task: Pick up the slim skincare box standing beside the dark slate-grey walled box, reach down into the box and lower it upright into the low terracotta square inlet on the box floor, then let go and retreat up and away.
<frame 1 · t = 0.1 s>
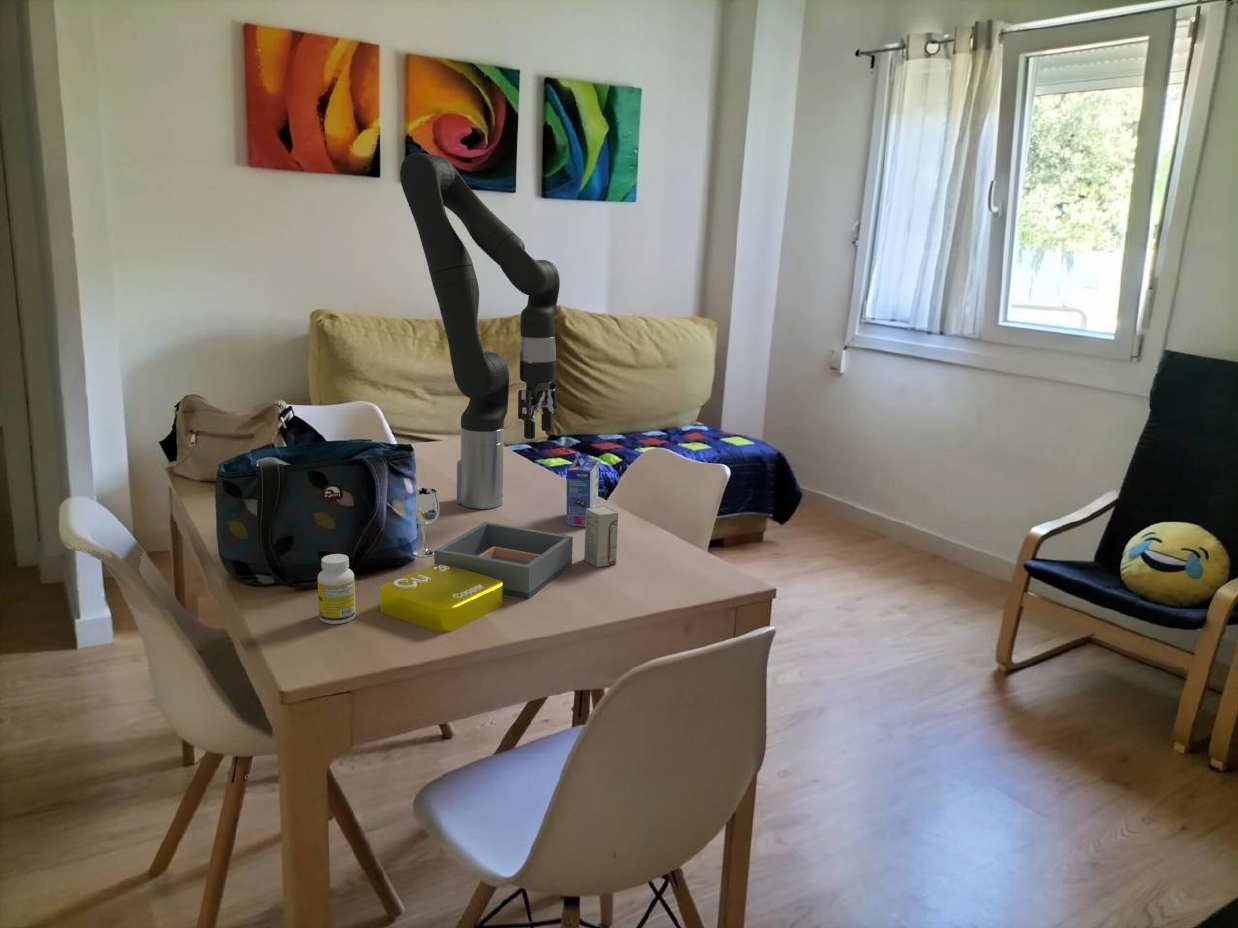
hand: (538, 434, 196), 17 cm above the table, tool pointing down, fingers open, 8 cm apart
supplement bottle: (337, 619, 143), on the table
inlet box: (505, 572, 165), on the table
ink cartridge box: (581, 520, 197), on the table
skincare box: (599, 562, 172), on the table
wineglass: (424, 553, 173), on the table
element tile: (442, 610, 149), on the table
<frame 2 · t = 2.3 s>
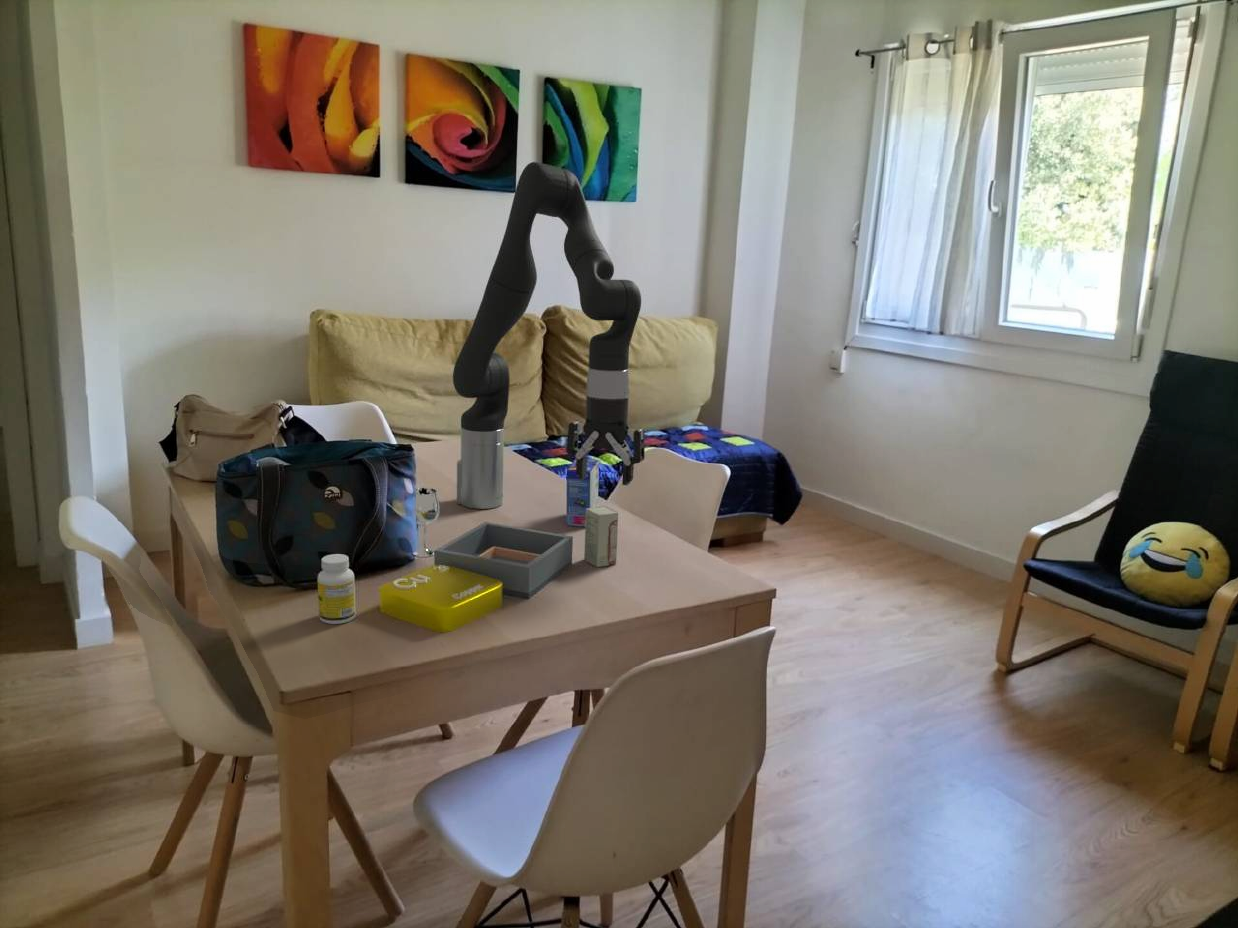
hand: (604, 481, 169), 16 cm above the table, tool pointing down, fingers open, 8 cm apart
nothing on the table moved.
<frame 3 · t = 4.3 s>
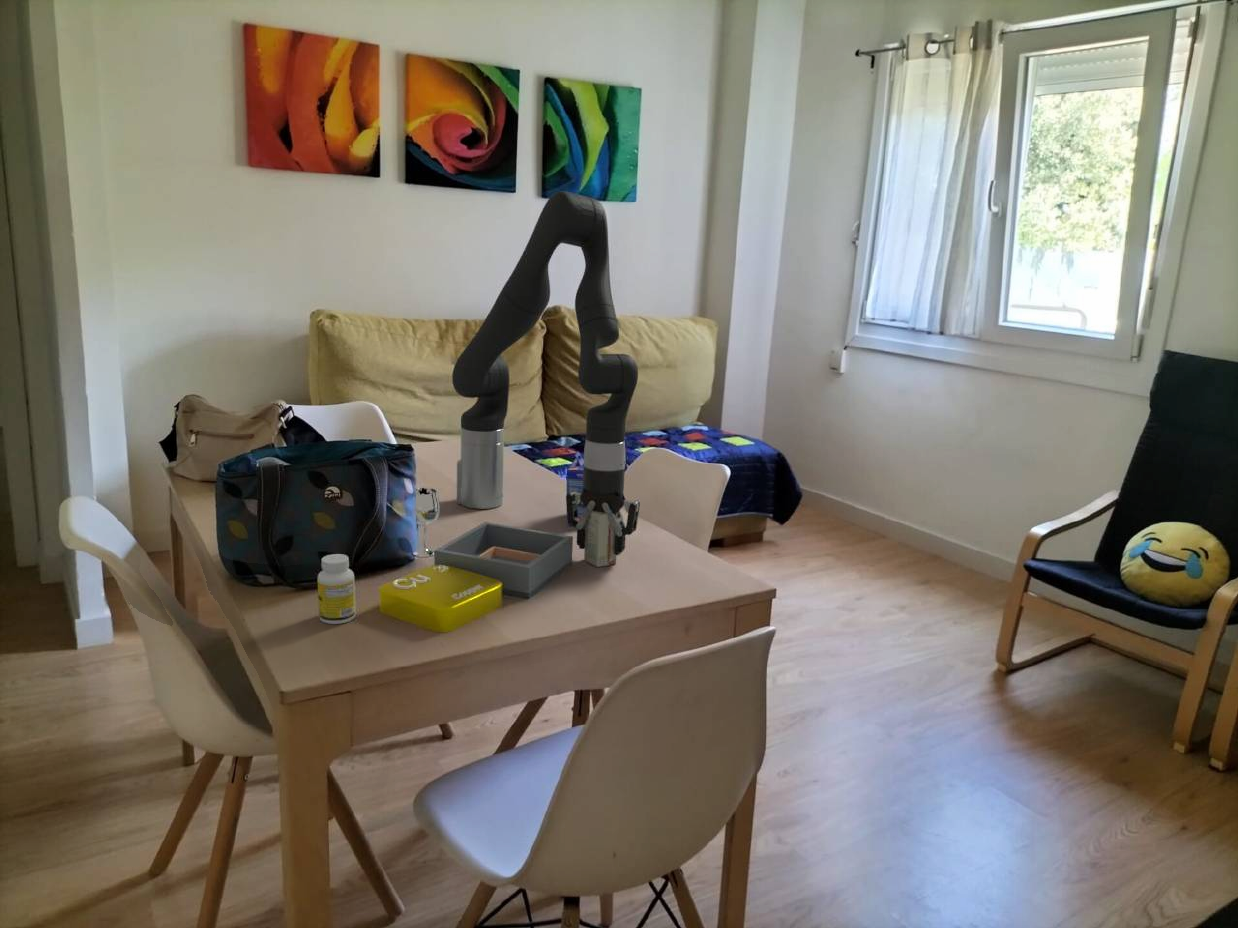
hand: (600, 550, 172), 2 cm above the table, tool pointing down, fingers closed on skincare box, 6 cm apart
skincare box: (599, 562, 172), on the table, touching gripper
everything else where it was.
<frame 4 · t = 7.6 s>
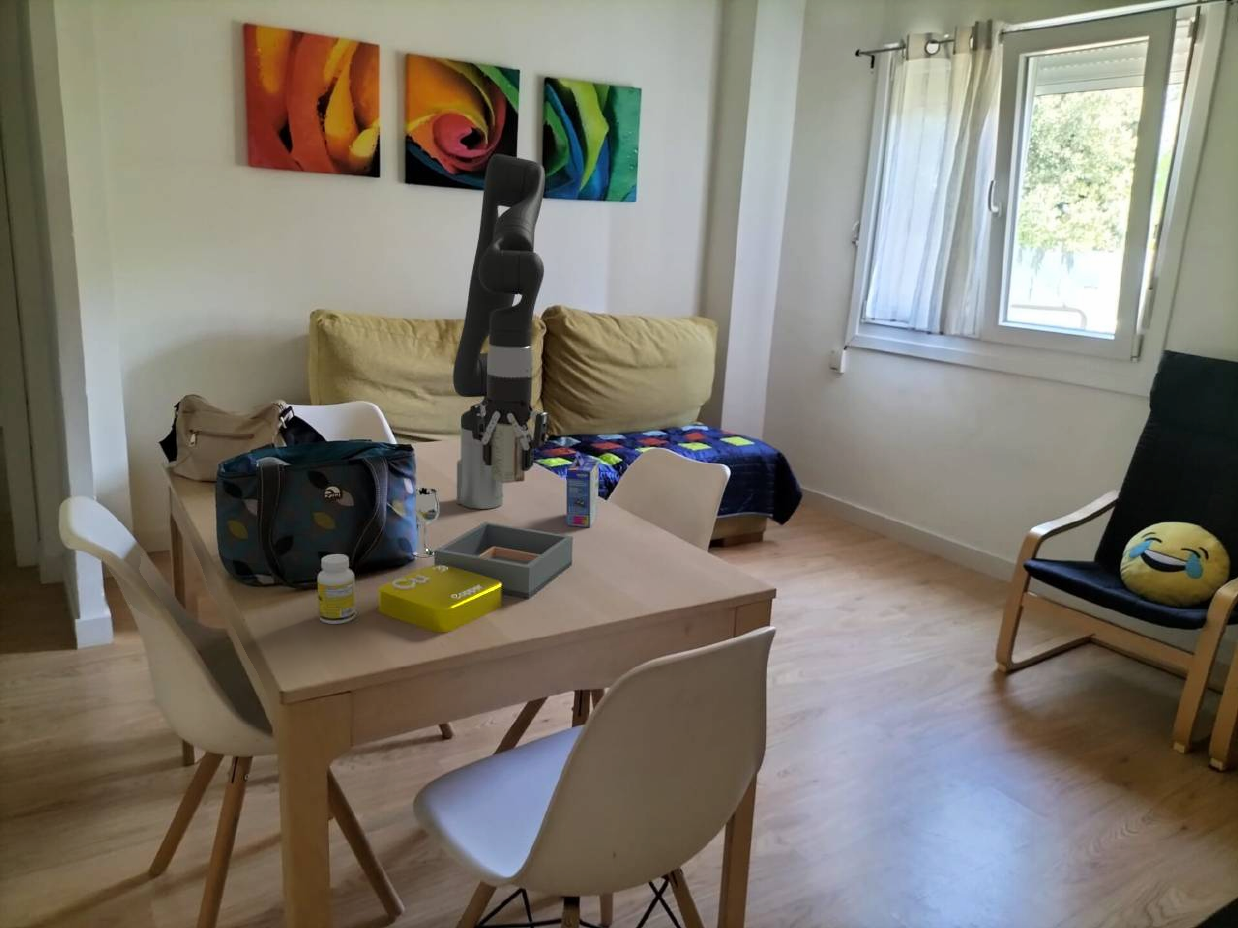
hand: (507, 467, 160), 19 cm above the table, tool pointing down, fingers closed on skincare box, 6 cm apart
skincare box: (507, 480, 161), point 17 cm above the table, touching gripper
everything else where it was.
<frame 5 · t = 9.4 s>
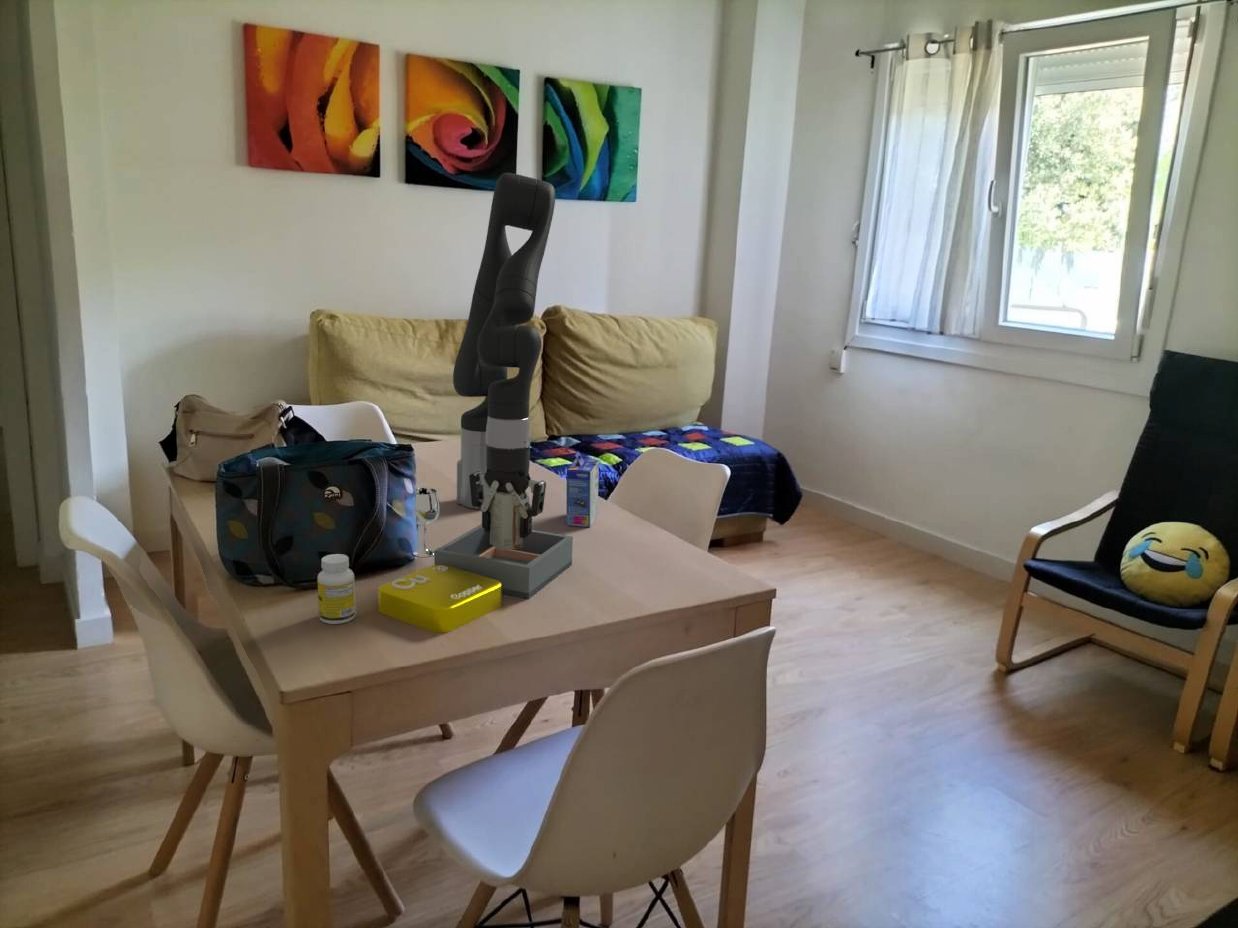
hand: (506, 533, 163), 7 cm above the table, tool pointing down, fingers closed on skincare box, 6 cm apart
skincare box: (506, 546, 164), point 5 cm above the table, touching gripper
everything else where it was.
when the fingers open (4 cm above the table, at t = 11.0 s): skincare box stays where it is, resting on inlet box.
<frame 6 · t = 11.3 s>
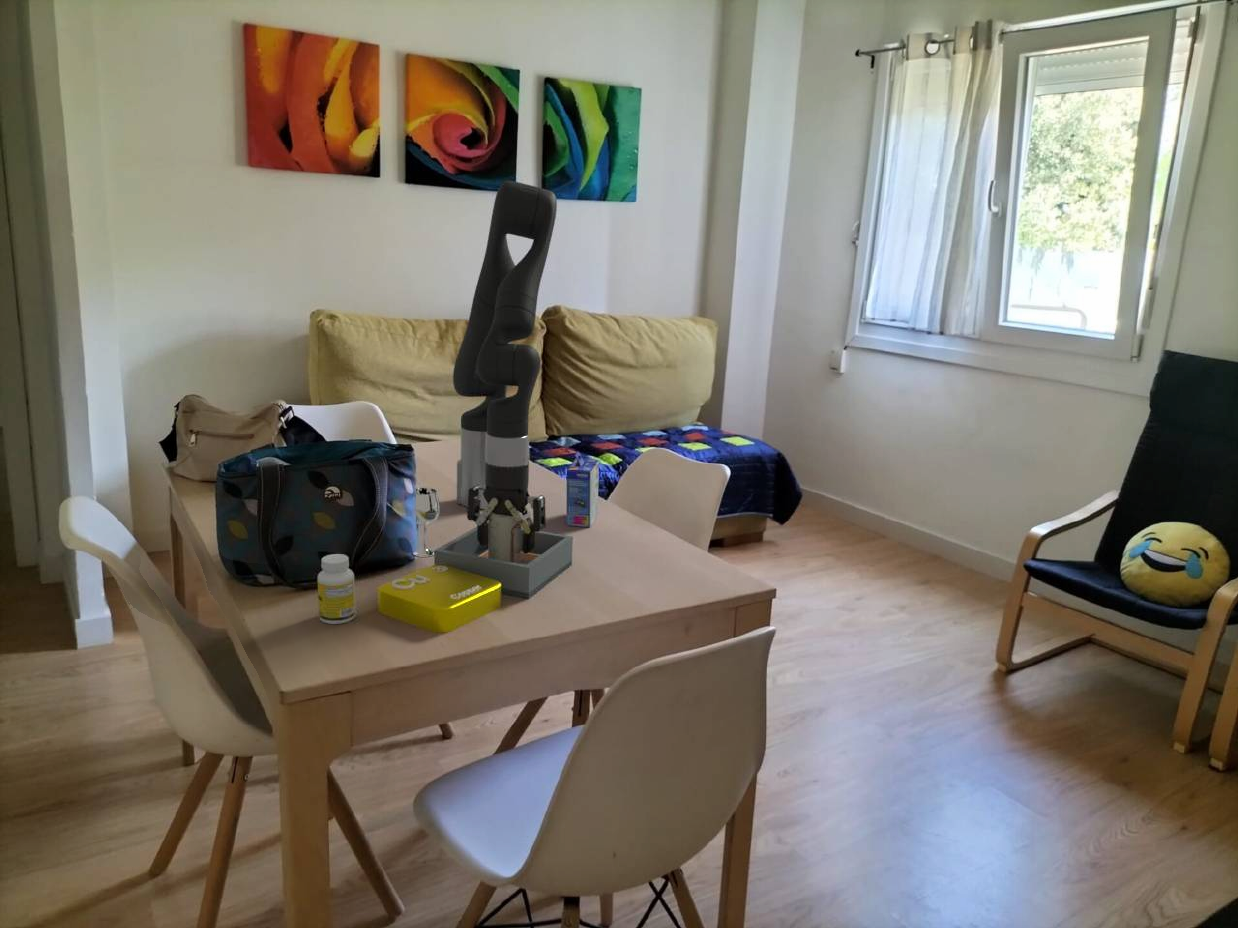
hand: (505, 548, 164), 5 cm above the table, tool pointing down, fingers open, 8 cm apart
skincare box: (504, 567, 165), point 1 cm above the table, touching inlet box
everything else where it was.
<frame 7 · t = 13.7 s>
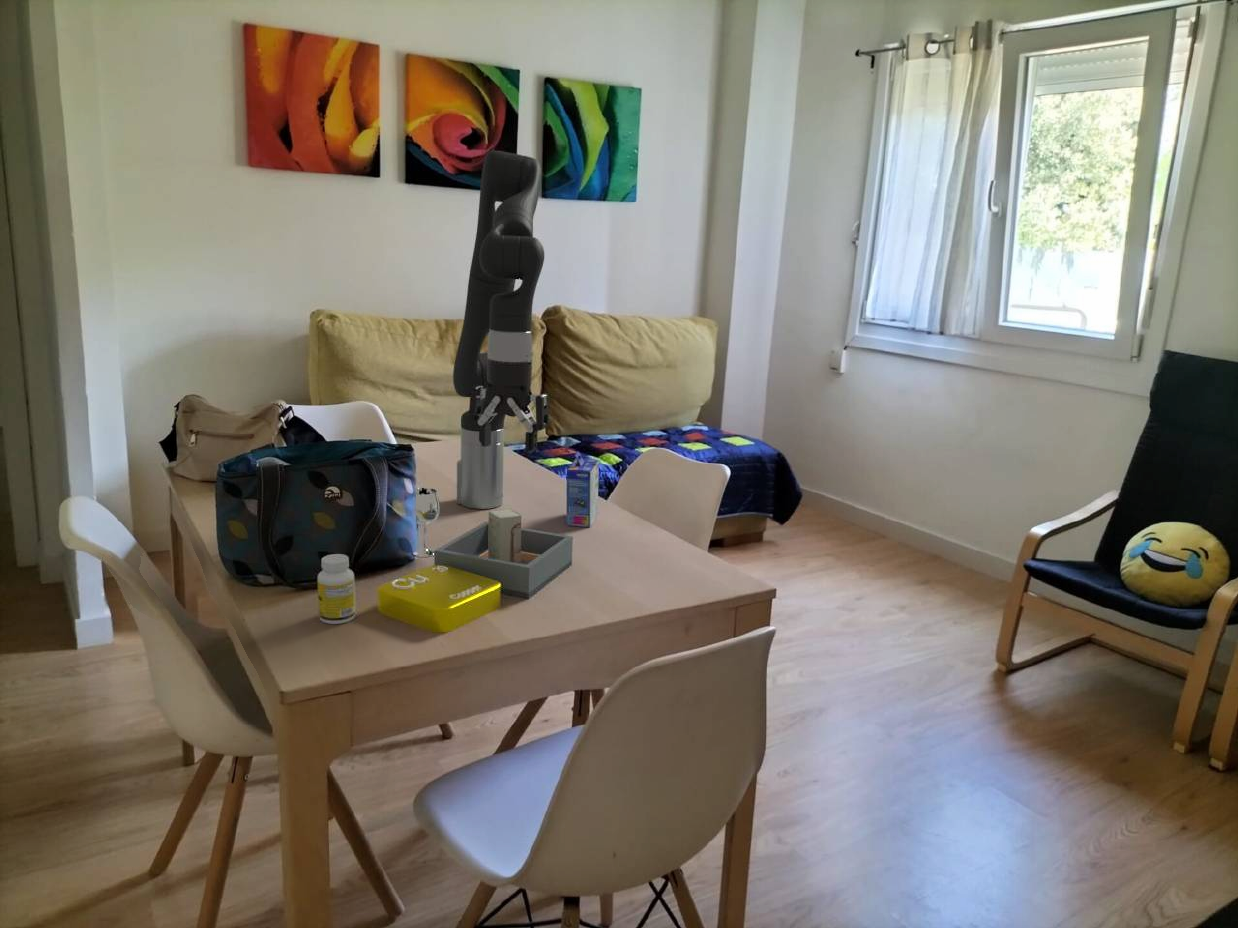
hand: (507, 449, 161), 22 cm above the table, tool pointing down, fingers open, 8 cm apart
nothing on the table moved.
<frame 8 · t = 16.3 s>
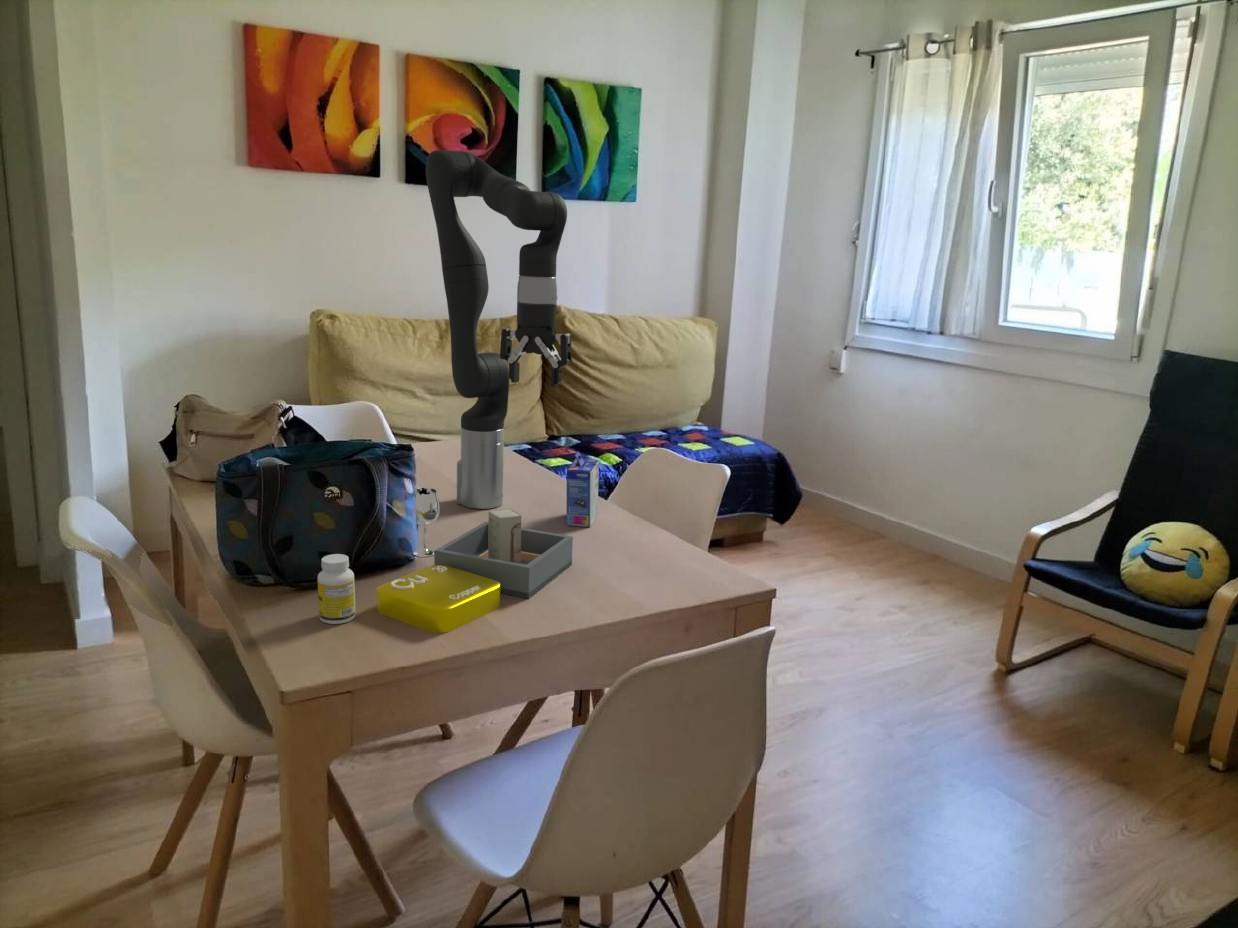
hand: (534, 384, 180), 30 cm above the table, tool pointing down, fingers open, 8 cm apart
nothing on the table moved.
at the end: skincare box 0.3 cm off-centre on the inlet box, point 0.8 cm above the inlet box's base; skincare box tilted 0°; the gripper is holding nothing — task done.
